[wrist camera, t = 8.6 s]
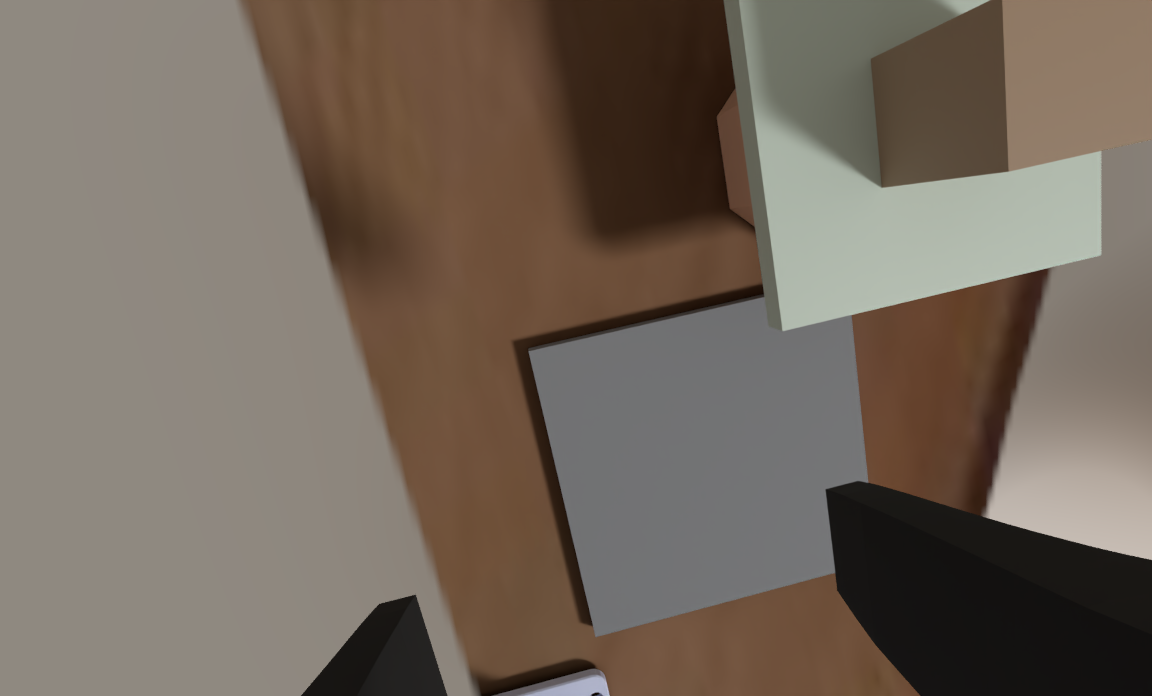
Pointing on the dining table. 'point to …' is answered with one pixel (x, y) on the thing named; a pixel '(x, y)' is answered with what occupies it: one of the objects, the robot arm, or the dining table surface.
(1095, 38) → the sage lid
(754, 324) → the grey mat
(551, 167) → the dining table surface
